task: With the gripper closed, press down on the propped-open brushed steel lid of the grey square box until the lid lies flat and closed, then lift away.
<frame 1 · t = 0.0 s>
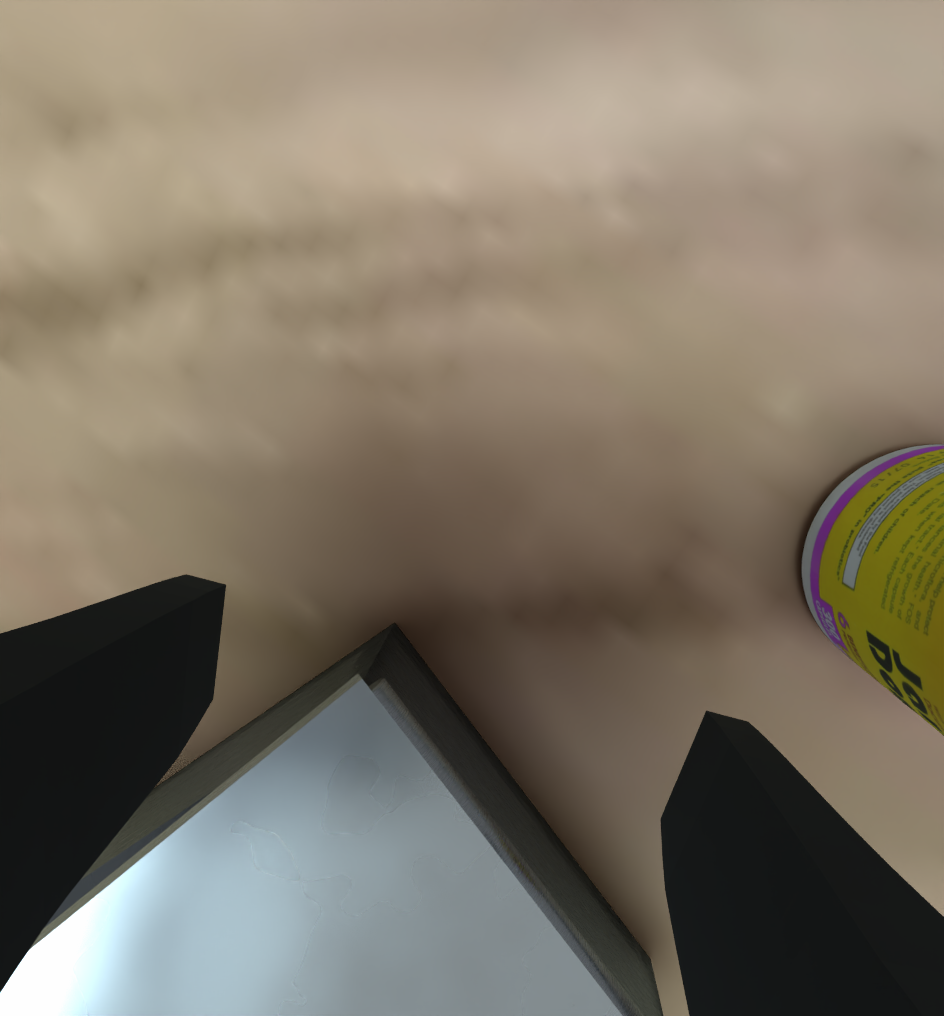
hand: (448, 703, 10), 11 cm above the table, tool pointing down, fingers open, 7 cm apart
supplement bottle: (909, 556, 20), on the table
grey square box: (366, 894, 23), on the table
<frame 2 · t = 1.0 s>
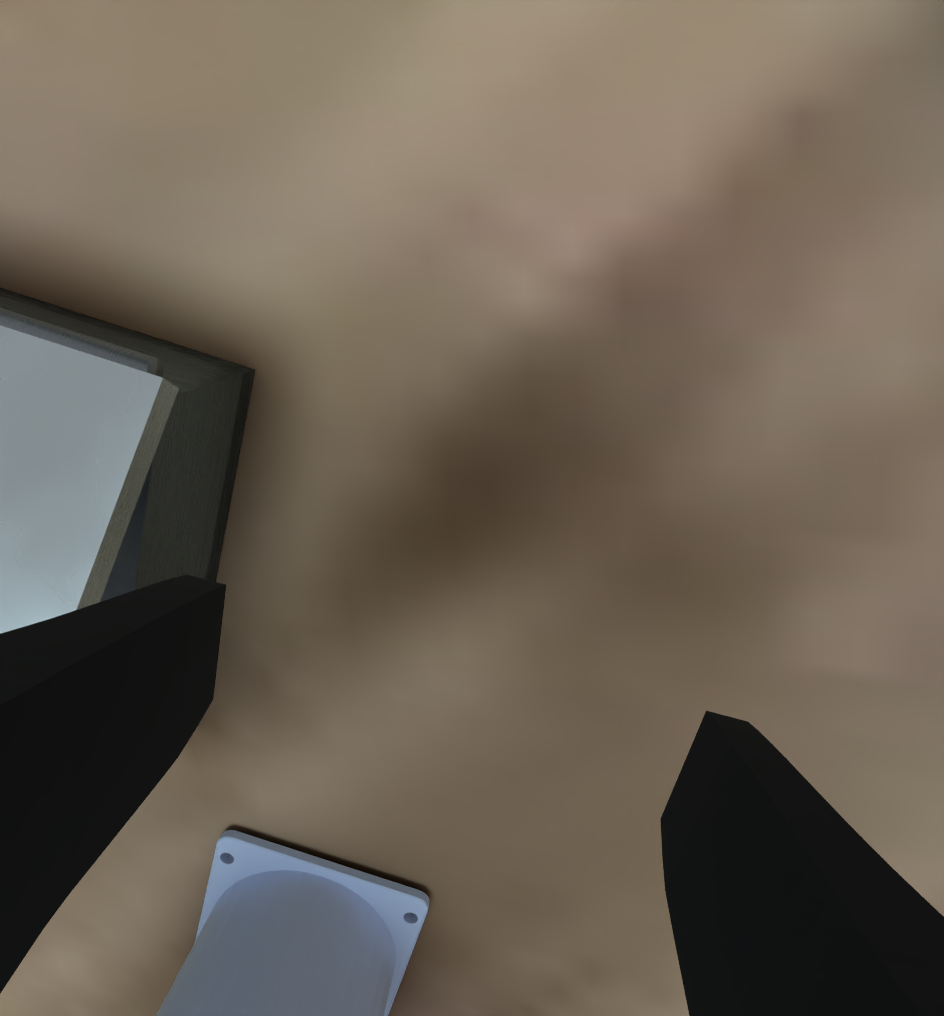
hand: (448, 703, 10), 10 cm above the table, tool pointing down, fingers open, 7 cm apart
grey square box: (8, 500, 22), on the table
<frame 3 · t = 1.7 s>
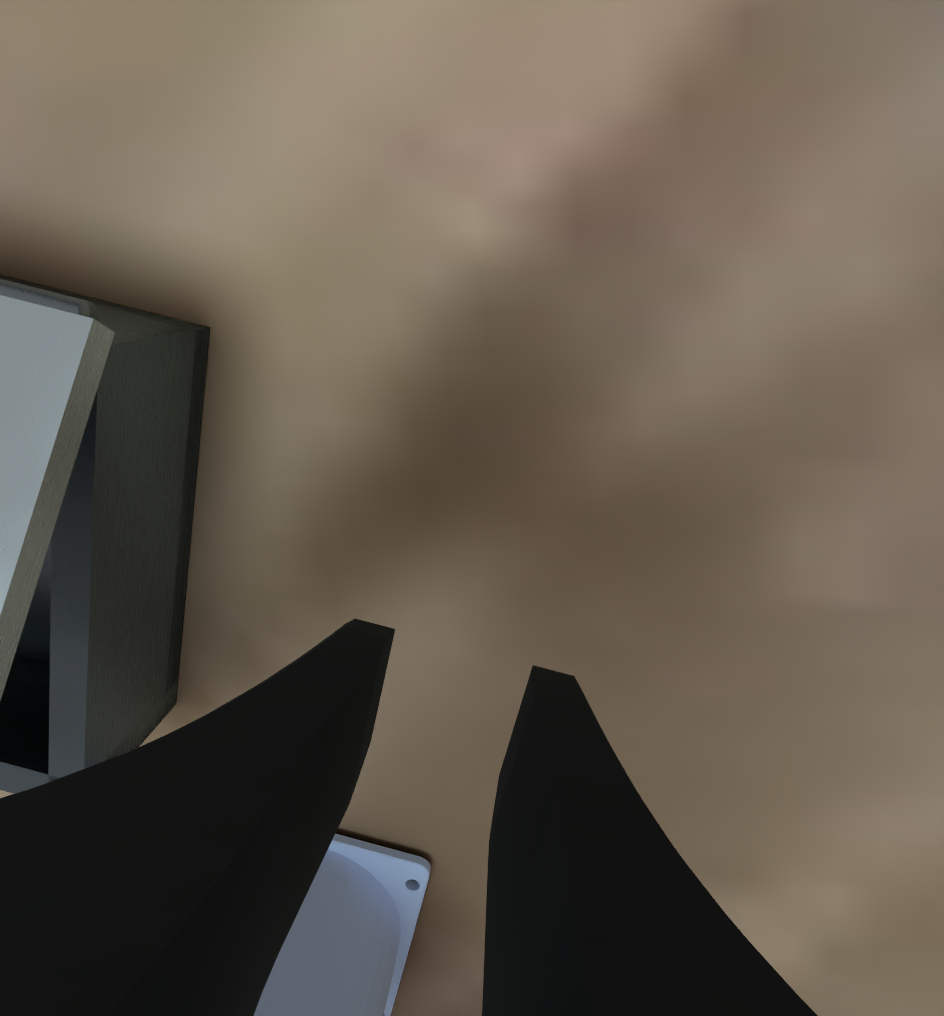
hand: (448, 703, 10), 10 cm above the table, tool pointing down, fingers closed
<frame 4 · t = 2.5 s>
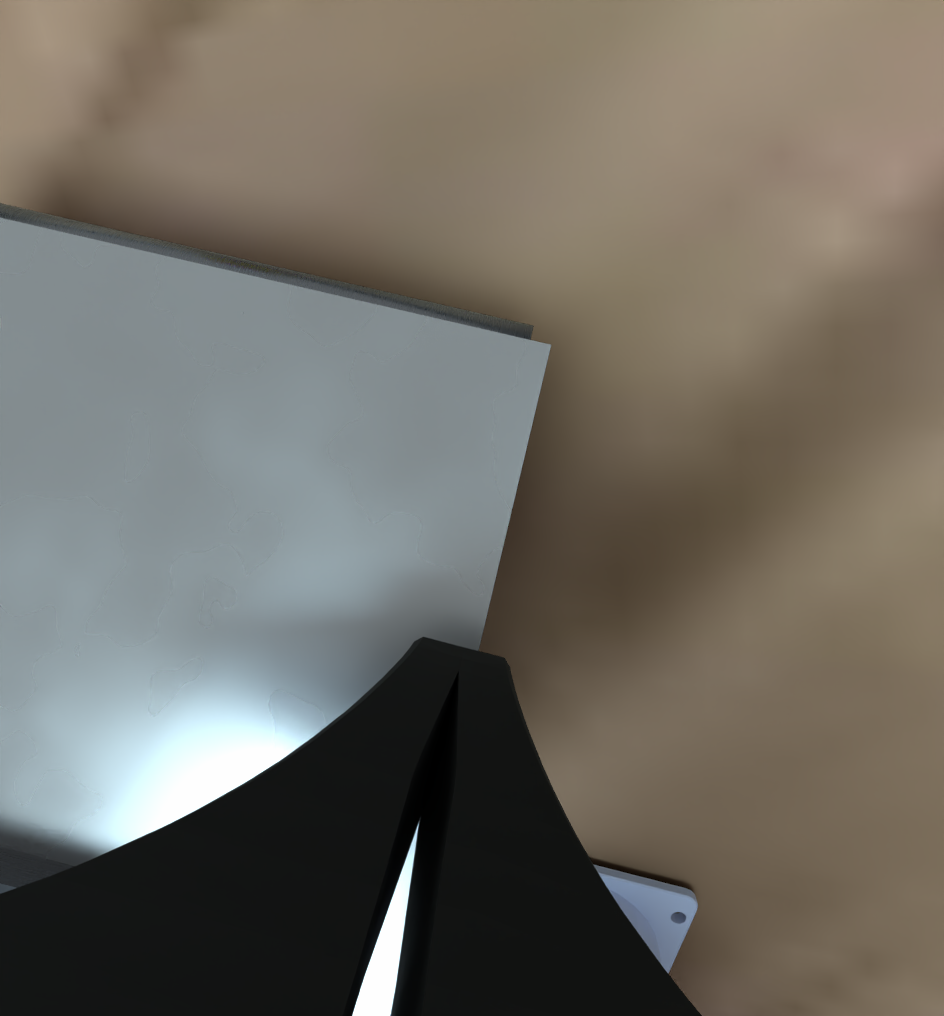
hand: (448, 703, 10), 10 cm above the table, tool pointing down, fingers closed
steel lid: (66, 594, 12), point 9 cm above the table, hinge at 25.0°
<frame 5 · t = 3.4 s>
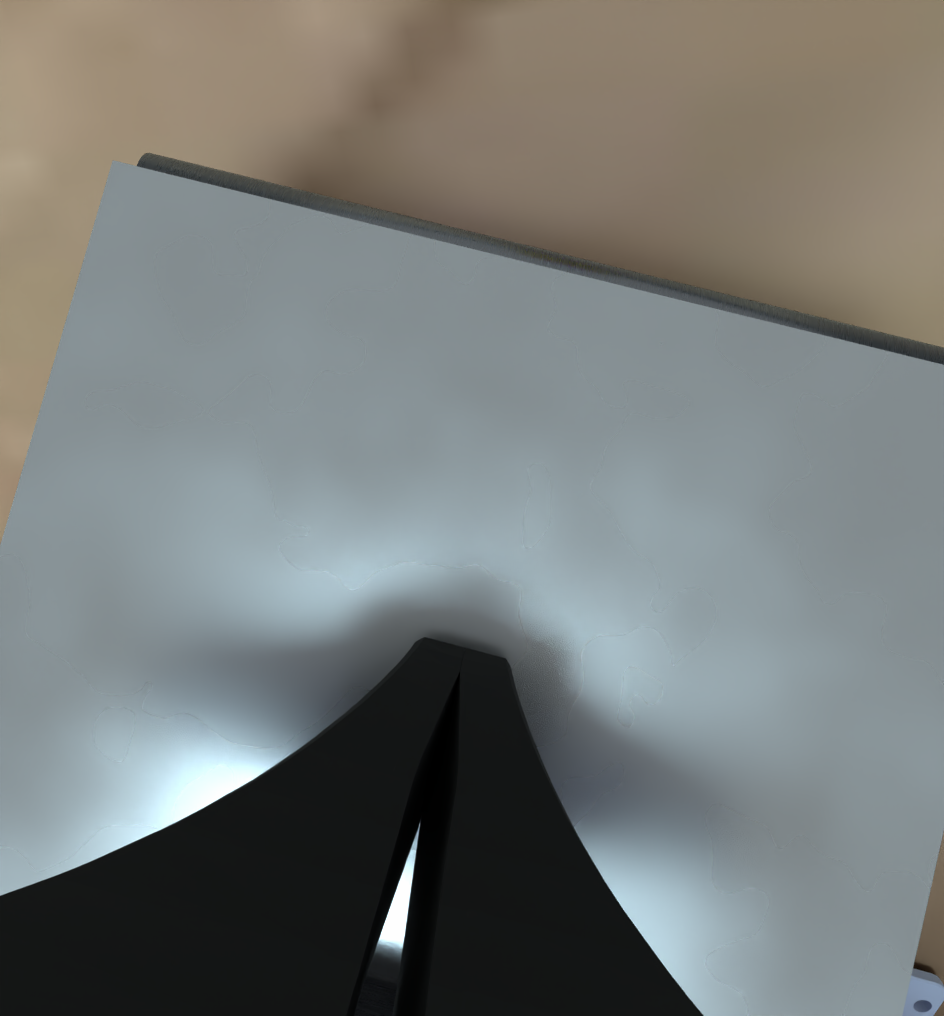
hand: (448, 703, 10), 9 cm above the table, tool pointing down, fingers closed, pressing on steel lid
steel lid: (460, 684, 10), point 8 cm above the table, hinge at 22.4°, touching gripper
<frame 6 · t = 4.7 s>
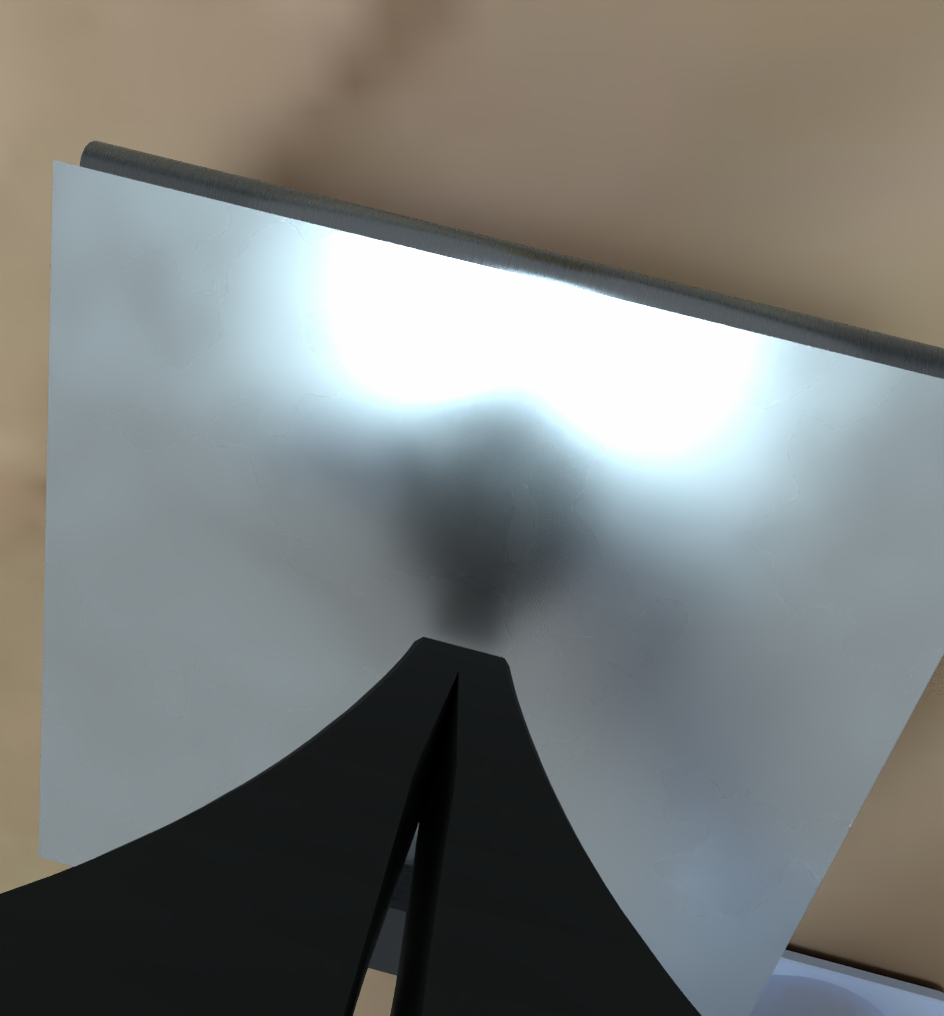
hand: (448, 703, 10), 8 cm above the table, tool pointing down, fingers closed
steel lid: (453, 672, 12), point 6 cm above the table, hinge at 1.1°
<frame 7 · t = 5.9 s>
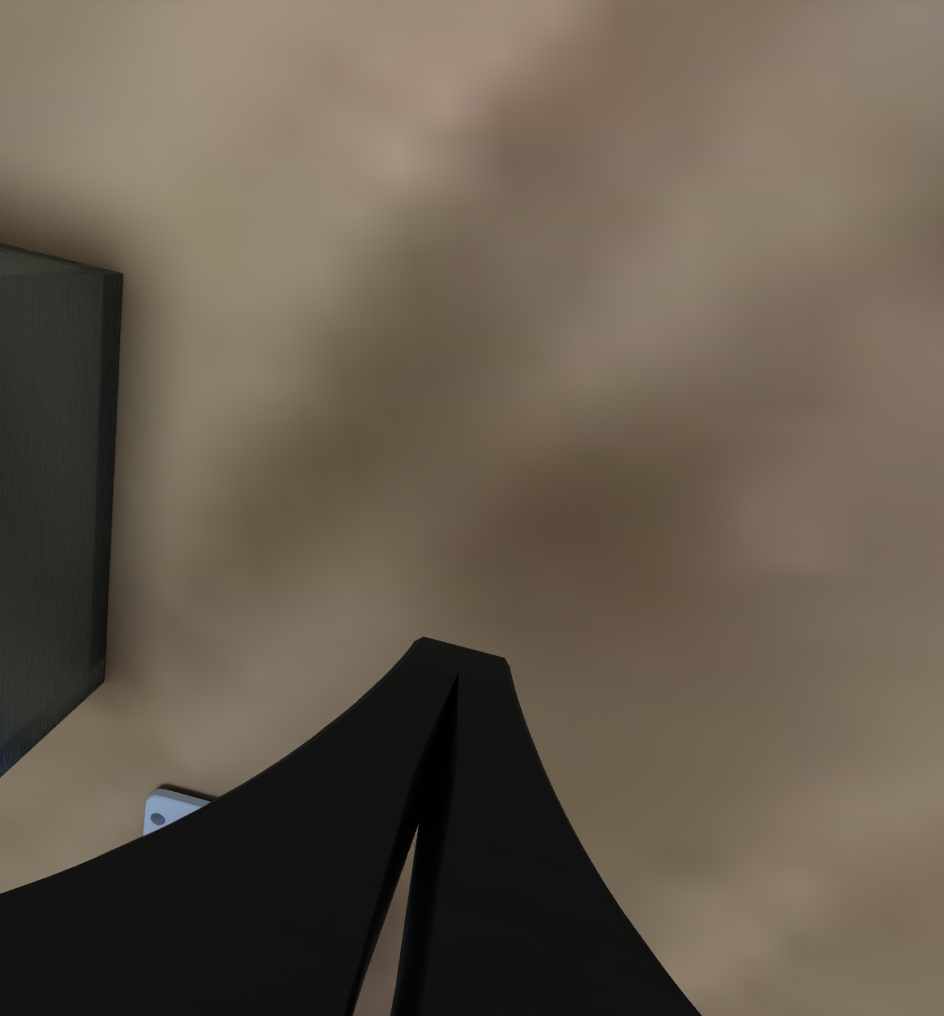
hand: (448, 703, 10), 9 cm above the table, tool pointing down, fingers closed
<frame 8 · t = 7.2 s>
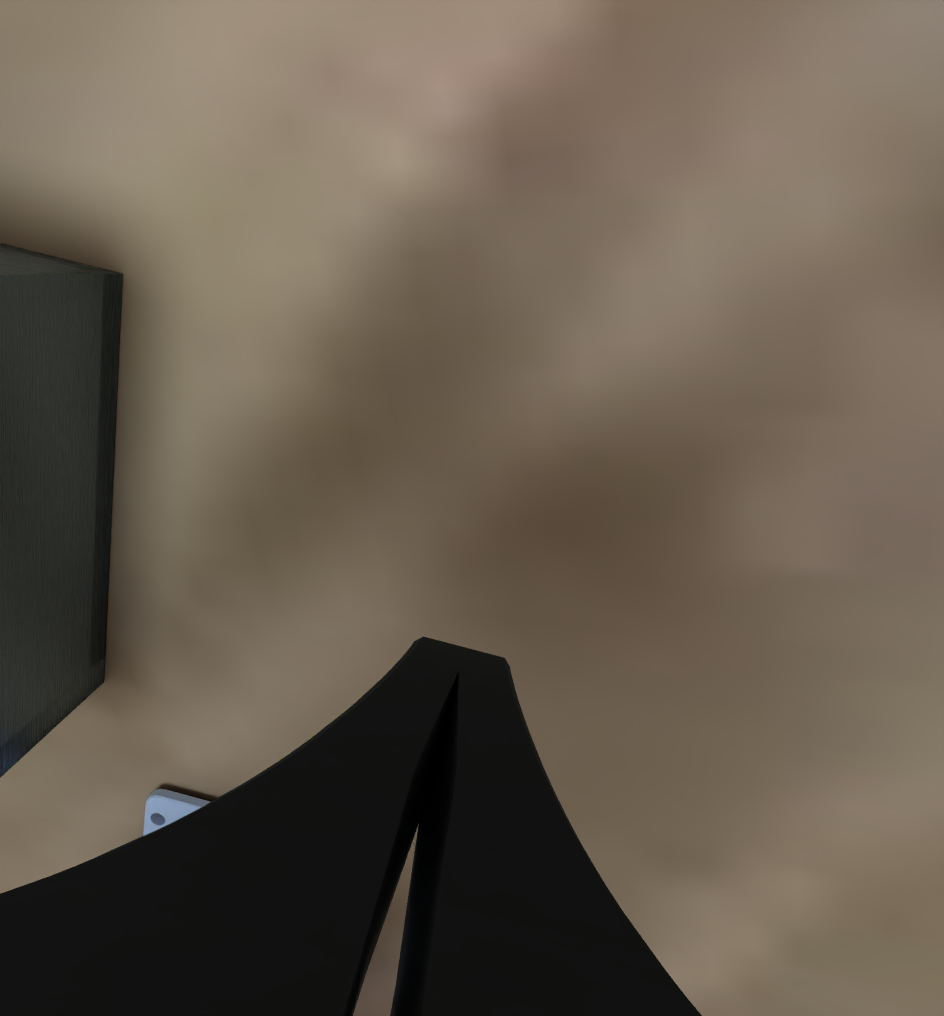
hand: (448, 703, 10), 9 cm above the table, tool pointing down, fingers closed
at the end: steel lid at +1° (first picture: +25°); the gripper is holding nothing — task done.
